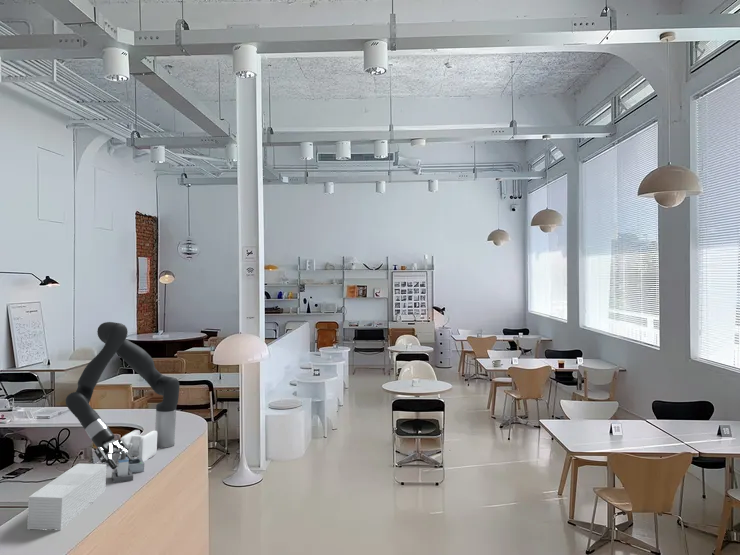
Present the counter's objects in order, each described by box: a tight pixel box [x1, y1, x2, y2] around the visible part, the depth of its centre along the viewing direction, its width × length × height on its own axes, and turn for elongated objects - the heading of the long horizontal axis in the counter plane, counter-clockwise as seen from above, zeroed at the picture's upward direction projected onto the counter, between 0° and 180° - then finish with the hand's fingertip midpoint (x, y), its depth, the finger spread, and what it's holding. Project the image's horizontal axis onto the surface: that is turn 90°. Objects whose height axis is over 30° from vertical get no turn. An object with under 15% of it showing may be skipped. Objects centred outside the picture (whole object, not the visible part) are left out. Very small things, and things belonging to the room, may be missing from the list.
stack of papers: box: [26, 462, 108, 531], centre depth 194 cm, size 32×11×11 cm, turn 2°
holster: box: [111, 470, 134, 484], centre depth 223 cm, size 7×7×2 cm
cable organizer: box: [119, 429, 158, 463], centre depth 248 cm, size 15×11×12 cm
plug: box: [116, 452, 129, 477], centre depth 223 cm, size 4×4×10 cm
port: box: [128, 457, 145, 474], centre depth 233 cm, size 8×8×4 cm
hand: (122, 464), depth 223 cm, fingers open, 8 cm apart
